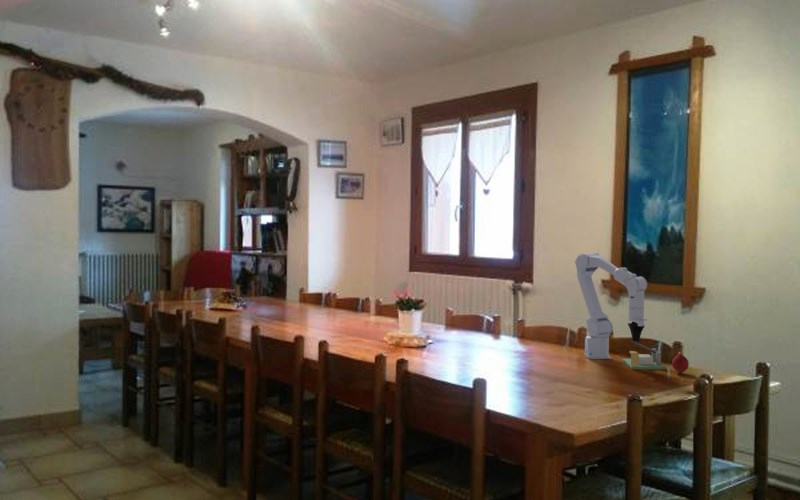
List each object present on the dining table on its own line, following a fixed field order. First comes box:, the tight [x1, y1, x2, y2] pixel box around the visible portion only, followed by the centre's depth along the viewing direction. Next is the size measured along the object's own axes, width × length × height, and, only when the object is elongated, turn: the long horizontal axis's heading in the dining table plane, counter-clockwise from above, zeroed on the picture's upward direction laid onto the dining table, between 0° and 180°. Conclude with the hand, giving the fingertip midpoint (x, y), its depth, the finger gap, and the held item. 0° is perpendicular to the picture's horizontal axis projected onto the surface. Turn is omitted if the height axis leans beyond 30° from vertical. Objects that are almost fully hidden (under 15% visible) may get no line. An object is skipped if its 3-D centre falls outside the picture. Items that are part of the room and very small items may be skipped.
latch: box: [629, 350, 639, 367], centre depth 264 cm, size 2×4×5 cm, turn 176°
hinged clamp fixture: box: [621, 348, 666, 371], centre depth 268 cm, size 13×14×6 cm
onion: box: [671, 351, 690, 374], centre depth 255 cm, size 6×6×8 cm
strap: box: [630, 340, 657, 354], centre depth 268 cm, size 11×4×1 cm, turn 87°
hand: (635, 341), depth 268 cm, fingers closed
